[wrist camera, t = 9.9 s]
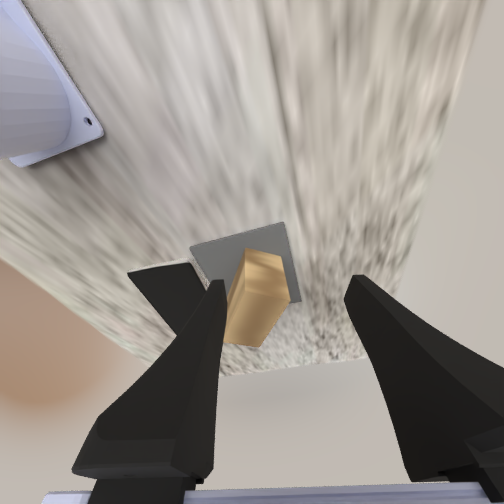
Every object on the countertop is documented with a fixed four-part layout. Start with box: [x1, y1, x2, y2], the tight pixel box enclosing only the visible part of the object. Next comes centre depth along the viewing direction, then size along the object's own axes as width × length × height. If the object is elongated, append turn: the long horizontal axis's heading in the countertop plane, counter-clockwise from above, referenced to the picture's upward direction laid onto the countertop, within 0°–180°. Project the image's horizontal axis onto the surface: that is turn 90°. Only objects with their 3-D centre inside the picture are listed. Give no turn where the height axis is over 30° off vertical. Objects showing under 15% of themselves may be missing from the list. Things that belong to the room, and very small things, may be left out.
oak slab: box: [223, 247, 291, 347], centre depth 21 cm, size 4×8×6 cm, turn 162°
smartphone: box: [127, 258, 208, 335], centre depth 27 cm, size 8×1×15 cm
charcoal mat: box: [190, 222, 301, 304], centre depth 23 cm, size 12×10×1 cm
